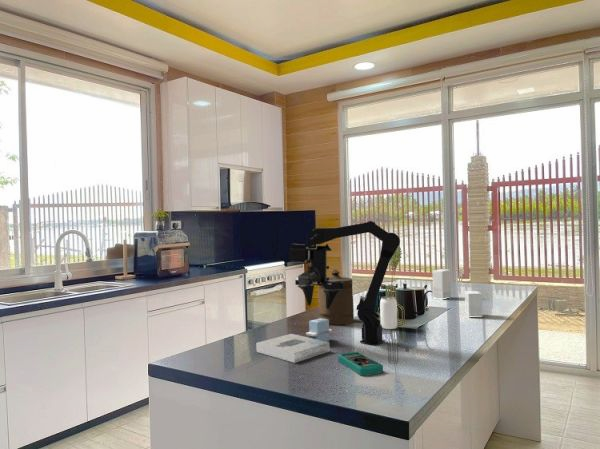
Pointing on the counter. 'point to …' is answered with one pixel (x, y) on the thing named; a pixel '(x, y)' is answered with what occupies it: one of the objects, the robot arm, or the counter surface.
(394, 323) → the can
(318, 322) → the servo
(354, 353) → the digital multimeter
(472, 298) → the small box
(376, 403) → the counter surface
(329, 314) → the wooden container
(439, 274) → the skincare box
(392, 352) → the counter surface
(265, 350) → the white flat slab
